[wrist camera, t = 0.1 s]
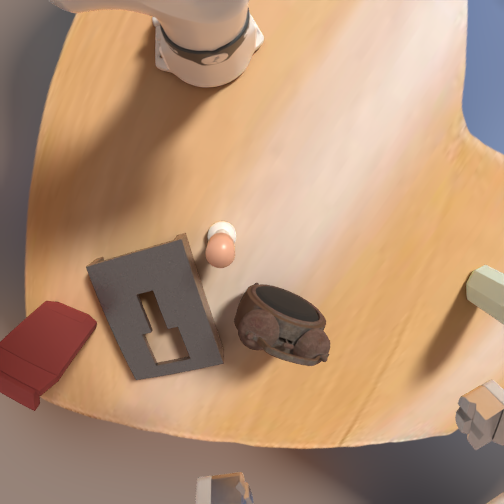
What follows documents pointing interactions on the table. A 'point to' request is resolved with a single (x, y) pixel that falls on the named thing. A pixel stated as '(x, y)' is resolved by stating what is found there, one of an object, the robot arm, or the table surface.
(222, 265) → the peg
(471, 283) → the water bottle
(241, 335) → the alarm clock
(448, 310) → the table surface
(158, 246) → the keyhole board
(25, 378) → the carton
